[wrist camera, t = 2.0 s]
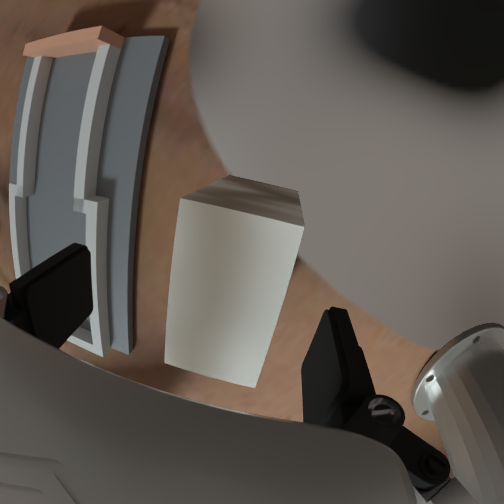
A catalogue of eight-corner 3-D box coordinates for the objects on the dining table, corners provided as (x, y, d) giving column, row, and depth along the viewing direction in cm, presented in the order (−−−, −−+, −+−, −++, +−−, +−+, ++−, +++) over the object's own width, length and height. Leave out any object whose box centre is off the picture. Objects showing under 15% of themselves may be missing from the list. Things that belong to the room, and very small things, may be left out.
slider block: (297, 191, 18) (304, 227, 10) (269, 298, 21) (254, 388, 13) (229, 175, 19) (180, 197, 10) (209, 283, 21) (164, 362, 13)
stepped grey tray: (170, 40, 16) (145, 20, 12) (133, 348, 25) (114, 375, 21) (34, 56, 16) (5, 51, 12) (26, 300, 25) (4, 316, 22)
